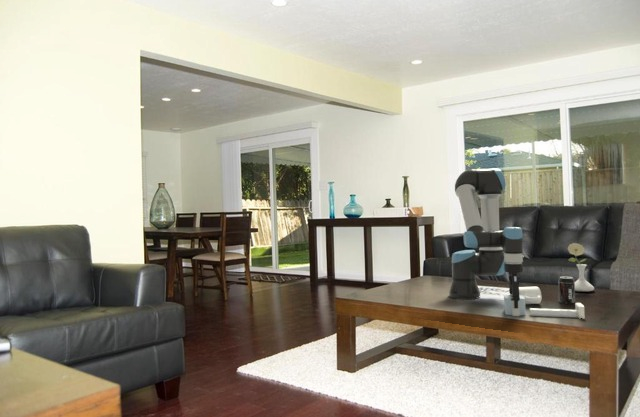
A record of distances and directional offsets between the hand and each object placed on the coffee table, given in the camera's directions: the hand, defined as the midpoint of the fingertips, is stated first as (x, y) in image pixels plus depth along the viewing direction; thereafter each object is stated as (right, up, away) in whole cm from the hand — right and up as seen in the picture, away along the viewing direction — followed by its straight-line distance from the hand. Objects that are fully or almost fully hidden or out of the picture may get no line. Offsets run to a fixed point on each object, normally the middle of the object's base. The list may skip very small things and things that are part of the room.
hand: (514, 312), depth 215 cm
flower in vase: (+52, +2, +44) cm, 68 cm away
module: (0, 0, 0) cm, 0 cm away
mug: (+13, 0, +15) cm, 20 cm away
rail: (+14, 0, -7) cm, 15 cm away
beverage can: (+31, +1, +17) cm, 35 cm away
